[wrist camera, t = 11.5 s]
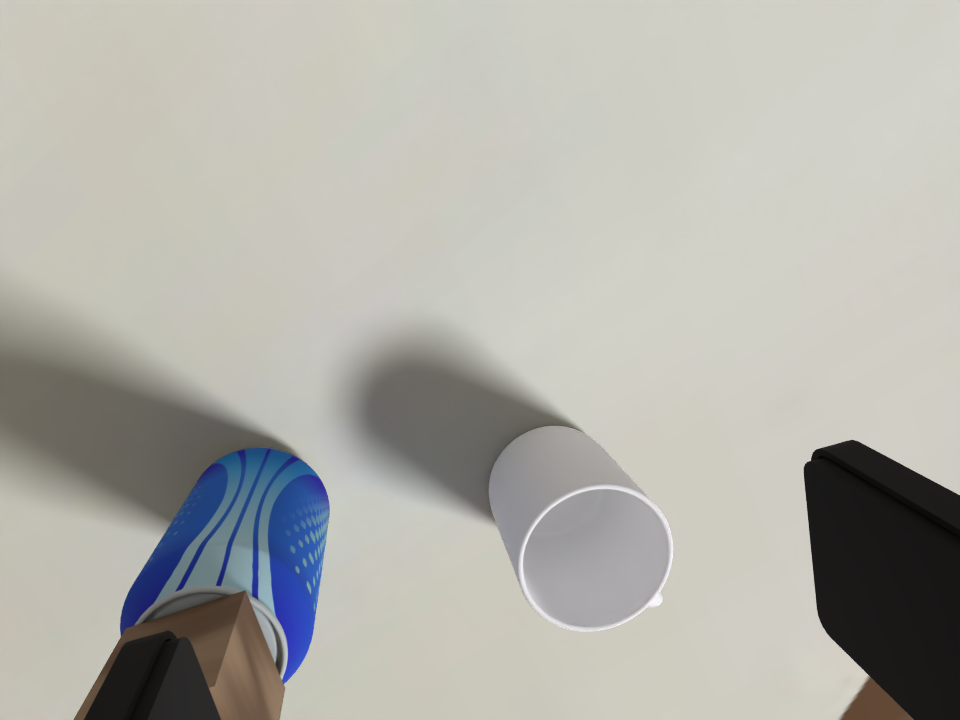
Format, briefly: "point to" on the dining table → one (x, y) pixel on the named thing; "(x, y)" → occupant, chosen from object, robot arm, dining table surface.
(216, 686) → the walnut block
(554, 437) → the mug
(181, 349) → the dining table surface
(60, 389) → the dining table surface
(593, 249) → the dining table surface
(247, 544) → the beer can
